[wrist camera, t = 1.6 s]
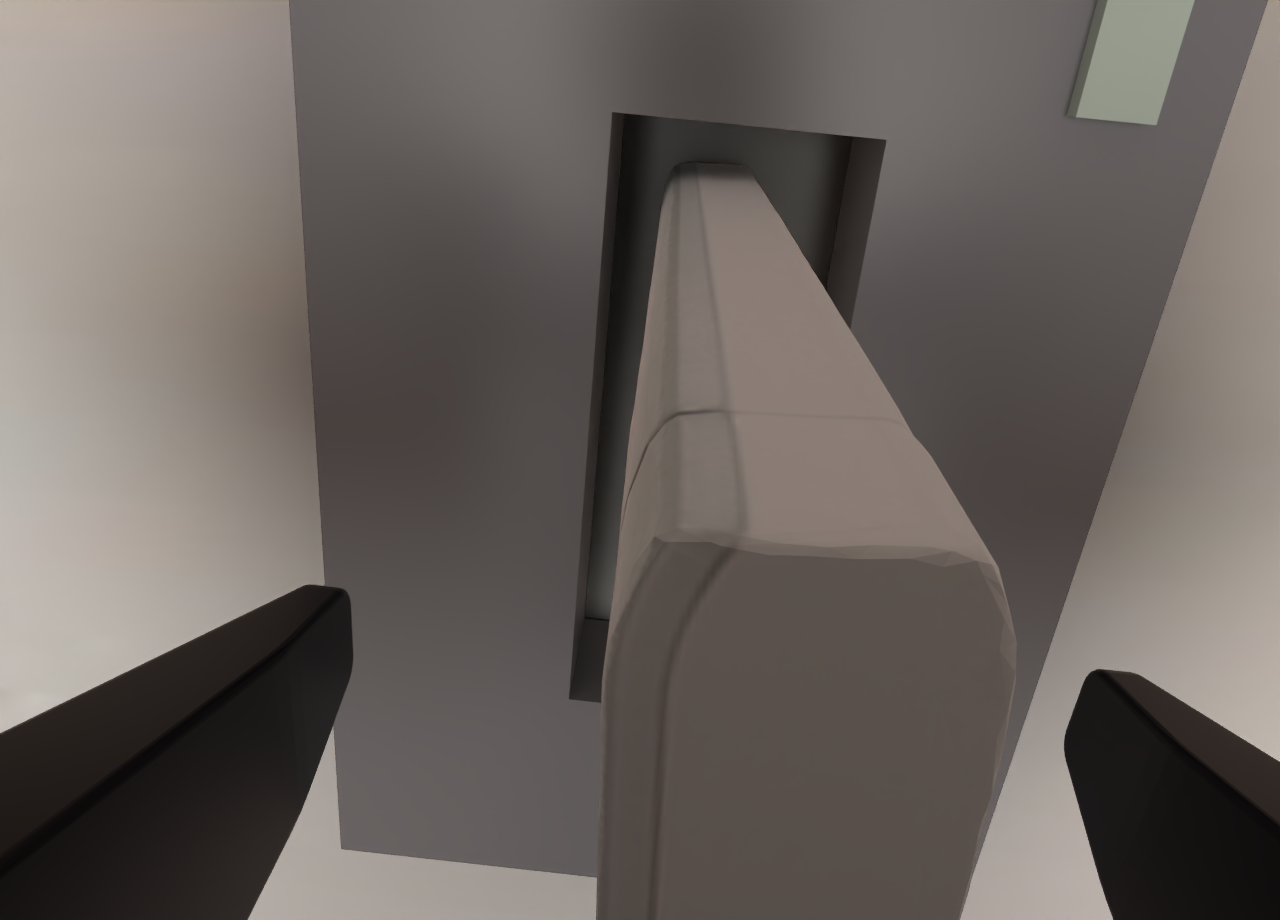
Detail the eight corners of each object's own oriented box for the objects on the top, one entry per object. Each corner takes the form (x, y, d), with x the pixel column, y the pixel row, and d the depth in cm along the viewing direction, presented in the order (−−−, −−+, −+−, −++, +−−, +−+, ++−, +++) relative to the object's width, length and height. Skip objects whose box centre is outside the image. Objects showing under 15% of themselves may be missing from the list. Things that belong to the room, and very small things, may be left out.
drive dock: (926, 817, 19) (962, 931, 17) (381, 758, 20) (335, 861, 17) (1221, -169, 12) (1361, -231, 10) (348, -254, 12) (256, -337, 10)
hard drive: (650, 596, 18) (575, 1556, 6) (662, 160, 14) (549, 523, 3) (735, 600, 18) (812, 1578, 6) (766, 163, 14) (1058, 546, 3)
